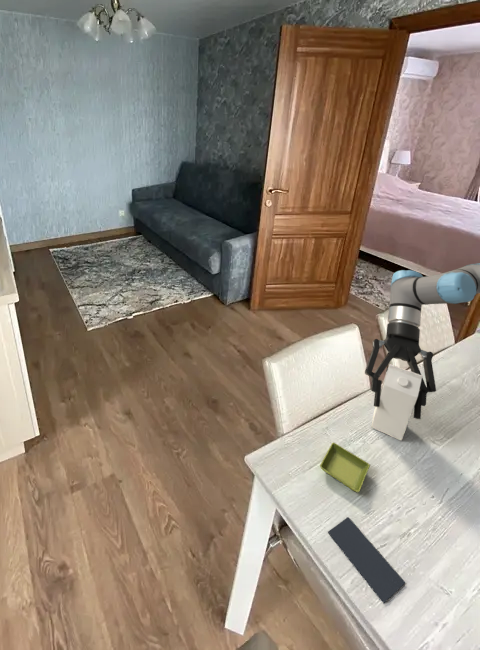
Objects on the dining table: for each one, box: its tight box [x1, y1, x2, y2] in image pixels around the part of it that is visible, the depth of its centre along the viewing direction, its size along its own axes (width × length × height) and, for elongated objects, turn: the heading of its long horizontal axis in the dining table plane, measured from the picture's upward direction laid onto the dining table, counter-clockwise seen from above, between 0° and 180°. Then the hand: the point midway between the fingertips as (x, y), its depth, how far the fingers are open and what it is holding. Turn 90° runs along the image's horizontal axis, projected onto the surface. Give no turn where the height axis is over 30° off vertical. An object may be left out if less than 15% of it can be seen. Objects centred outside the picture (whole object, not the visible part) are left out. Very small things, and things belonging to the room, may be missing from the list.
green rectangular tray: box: [319, 442, 371, 493], centre depth 81 cm, size 9×9×2 cm
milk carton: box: [370, 363, 424, 442], centre depth 90 cm, size 7×7×19 cm
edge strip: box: [327, 516, 406, 604], centre depth 66 cm, size 12×6×1 cm, turn 27°
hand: (396, 412), depth 87 cm, fingers closed on milk carton, 8 cm apart
